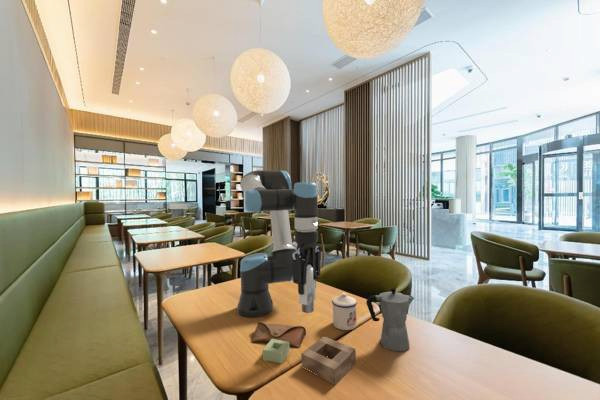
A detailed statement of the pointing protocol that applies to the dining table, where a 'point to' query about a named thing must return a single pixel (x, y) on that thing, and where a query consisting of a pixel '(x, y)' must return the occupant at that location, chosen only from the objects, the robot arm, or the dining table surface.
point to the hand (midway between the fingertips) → (307, 300)
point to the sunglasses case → (279, 334)
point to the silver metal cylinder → (309, 290)
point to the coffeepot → (392, 318)
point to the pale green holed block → (276, 351)
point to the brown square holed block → (326, 367)
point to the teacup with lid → (344, 312)
